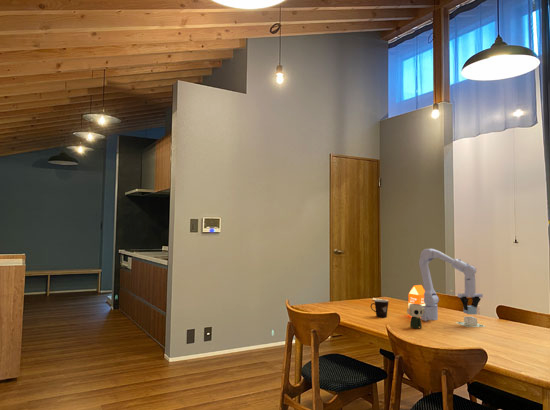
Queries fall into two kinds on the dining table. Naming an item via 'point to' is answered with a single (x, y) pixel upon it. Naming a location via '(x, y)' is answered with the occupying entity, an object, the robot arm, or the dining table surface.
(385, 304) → the coffee mug
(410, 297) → the orange juice
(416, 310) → the toy figurine
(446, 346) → the dining table surface
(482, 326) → the baseplate
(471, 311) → the blue block
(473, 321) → the cream block
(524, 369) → the dining table surface
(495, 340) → the dining table surface
